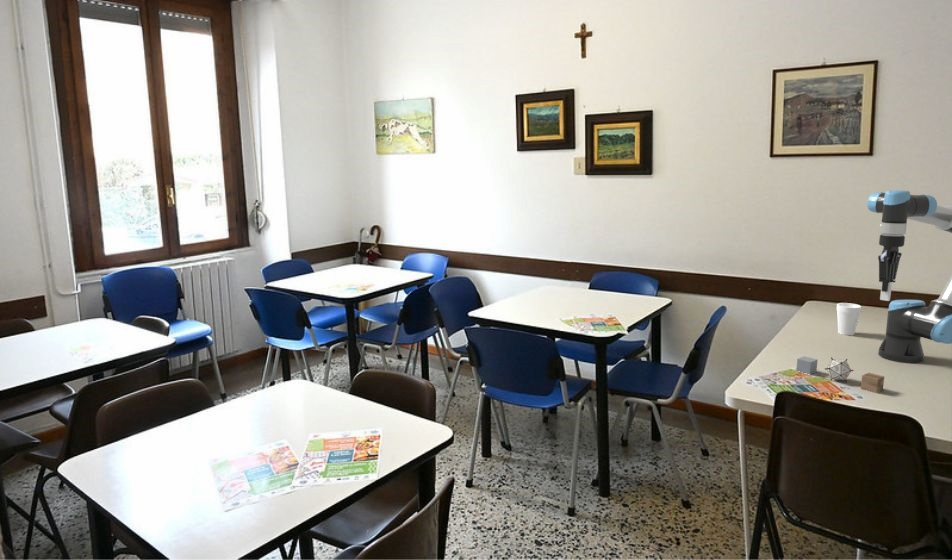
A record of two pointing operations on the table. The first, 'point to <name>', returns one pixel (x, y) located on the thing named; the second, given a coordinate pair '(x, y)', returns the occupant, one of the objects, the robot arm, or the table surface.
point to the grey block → (807, 365)
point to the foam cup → (847, 317)
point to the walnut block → (872, 382)
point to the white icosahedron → (838, 369)
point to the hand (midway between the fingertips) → (884, 300)
